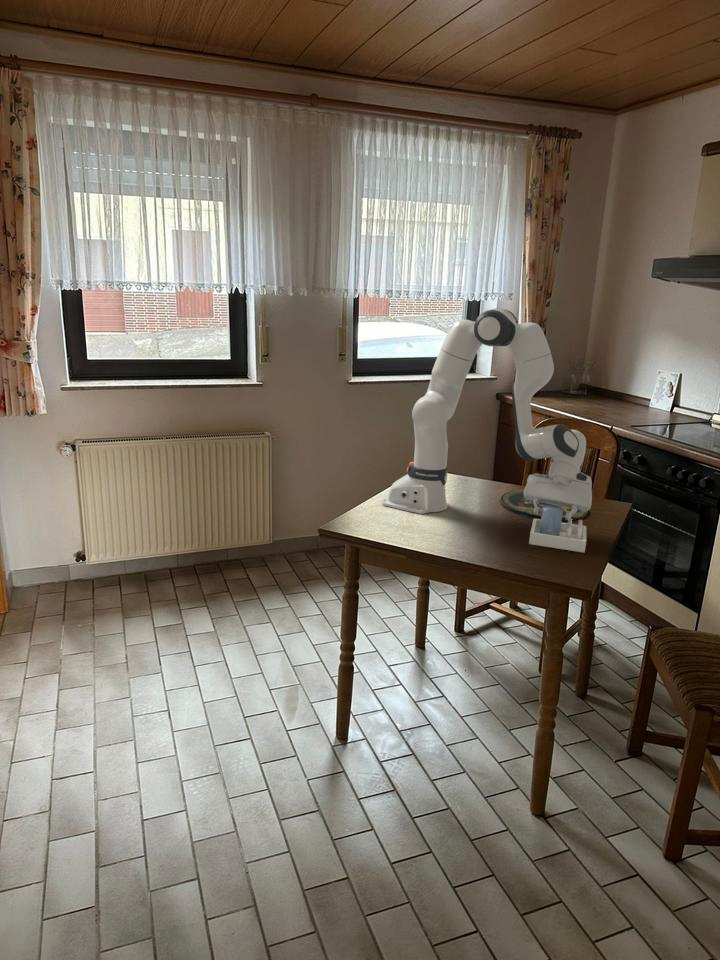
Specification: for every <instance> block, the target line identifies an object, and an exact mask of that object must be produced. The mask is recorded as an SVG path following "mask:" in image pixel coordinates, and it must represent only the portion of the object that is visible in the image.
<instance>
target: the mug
mask: <svg viewBox="0 0 720 960" xmlns="http://www.w3.org/2000/svg"><path fill="white" fill-rule="evenodd" d="M562 515H563V508H561V507H559V506H555V505H544V506H543V509H542V516H541V524H540V531H539V533H541V534H548V535H554V536H559V535H560V528H561V522H562ZM562 523H563V522H562Z"/></svg>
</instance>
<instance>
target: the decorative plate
mask: <svg viewBox="0 0 720 960" xmlns="http://www.w3.org/2000/svg"><path fill="white" fill-rule="evenodd" d="M499 503H500V505H501V507H503V508H504V509H505V510H507V511H509V512H511V513H513V514H514V515H518V516H521V515H522V516H521V517H524V516H525V517H526V518H528V517H529V518H528V519H533V518H534V519H541V516H542V509H543V506H544V505H551V504H546V503H541V502H539V503H538V505H537V507H540V512H539V514H534V508H535V507H534V503H533V501H531V500H526V499H525V497H524V489H523V490H522V489H519V490H513V491H508V492H505V493H504V494H502V495H501V496H500V499H499ZM555 506H557V505H555ZM559 507H561V508H563V515H562V521H564V522H568V520H565V516H566V512H567V513H569V512H571V511H572V508H567V507H562V506H559ZM588 513H589V512H588V511H582V510H577V512H576V513H575V514H574V515H573V516H571V519H573V520H574V521H576V520H575V519H579V518H582V517H584V516H585V515H586V514H587V515H588ZM587 515H586V516H587ZM584 518H585V517H584ZM582 519H583V518H582ZM579 520H580V519H579Z"/></svg>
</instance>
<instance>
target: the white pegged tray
mask: <svg viewBox="0 0 720 960" xmlns="http://www.w3.org/2000/svg"><path fill="white" fill-rule="evenodd" d="M532 519H533V518H532ZM572 520H573V519H571V520H570V521H569V520H568V521H567V522H561V528H560V535H559V536H554V535H548V534H541V533H539V531H540V524H541V519H533V520H532V525H531V529H530V533H529V539H528V540H529V541H528V544H529V545H533V546H540V547H544V548H545V547H546V548H554V549H559V550H563V551H564V550H567V551H572V552H578V553H586V552H585V551H586V546H587V525H583V519H579V520H577V521H578V523H577V524H573V521H572Z"/></svg>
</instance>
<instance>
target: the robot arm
mask: <svg viewBox="0 0 720 960" xmlns="http://www.w3.org/2000/svg"><path fill="white" fill-rule="evenodd" d="M547 340H548V339H547V338H546V335H545V333H544V331H543V329H542V327H541V326H540V325H539V324H538V323H535V322H529V321H528V322H523V323H519V322H518V319H517V317H516V316H515V314H514V313H513V312H512V311H510V310H508V309H504V308H492V309H487V310H485V311H483V312H482V313H480V314H479V315H478V316H477V318H476V319H475V320H474V321H473V320H470V319H459V320H457V321H455V322H454V323H453V325H452V326H451V327H450V329H449V330H448V332H447V335H446V336H445V338H444V340H443V343H442V345H441V347H440V350H439V352H438V355H437V358H436V359H435V363H434V365H433V367H432V370H431V376H430V380H429V383H428V384H429V385H428V387H427V391H426V393H425V394H424V396H422V397H420V398H419V399H417V401H416V402H415V404H414V406H413V408H412V410H411V417H412V421H413V430H414V431H413V432H414V455H413V461H411V462H409V464H408V466H407V468H406V474H405V475H403V476H402V477H399V478H398V479H397V480H395V481H394V482H393V483H392V484H391V486H390V489H389V492H388V493H387V494H385V495H384V496H383V497H382V499H381V504H382V505H383V506H385V507H389V508H393V509H398V510H402V511H406V512H412V513H416V514H420V515H423V514H428V513H429V514H430V513H438V512H443V511H446V510H447V509H448V503H447V497H446V496H447V495H446V483H447V481H448V467H447V463H448V462H447V461H448V454H449V453H448V452H449V451H448V450H449V443H448V433H447V427H448V426H447V425H448V421H450V419H452V417H453V416H454V414H455V411H456V408H457V406H458V403H459V399H460V397H461V393H462V390H463V388H464V387H463V386H464V383H465V381H466V379H467V377H468V374H469V372H470V370H471V367H472V364H473V362H474V359H475V358H476V355H477V352H478V350H479V349H480V348H481V347H482V345H484V346H487V347H508V349H509V350H510V352H511V354H512V359H513V362H514V366H515V381H514V382H513V384H512V386H511V401H512V409H513V418H514V426H515V441H514V444H515V450H516V453H517V454H518V456H519V457H520V458H522V459H523V460H524V461H527V462H534V461H537V460H540V459H546V458H552V460H553V462H552V463H551V466H550V469H549V472H548V474H542V473H537V472H534V473H531V474H529V475H528V477H527V480H526V485H525V487H524V489H523V490H524V497H525V499H526V500H531V501H533V503H534V507H535V508H534V514H539V512H540V507H537V505H538V503H539V502H541V503H546V504H551V505H557V506H562V507H567V508H572V511H571V512H569V513H567V512H566V516H565V520H569V521H570V520H571V516H573V515H574V514H575V513H576V512H577V510H582V511H587V512H588V511H590V510H591V507H592V500H593V491H592V485H593V483H592V481H593V480H592V478H591V476H589V475H587V474H585V473H583V472H581V466H582V464H583V462H584V459H585V455H586V450H587V439H586V436H585V435H584V434H583V433H582V432H581V431H579V430H577V429H570V428H569V427H568V426H566V425H565V424H561V423H560V424H553V425H552V424H551V425H547V426H542V427H538V428H535V427H534V426H533V418H532V409H531V408H532V407H531V402H532V399H533V396H534V395H535V394H536V393H537V392H538V391H539V390H541V389H542V388H543V387H545V386H546V385H547V384H548V383H549V381H551V379H552V377H553V375H554V371H555V366H554V364H555V363H554V361H553V356H552V352H551V349H550V348H551V347H550V346H549V343H548V341H547Z"/></svg>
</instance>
